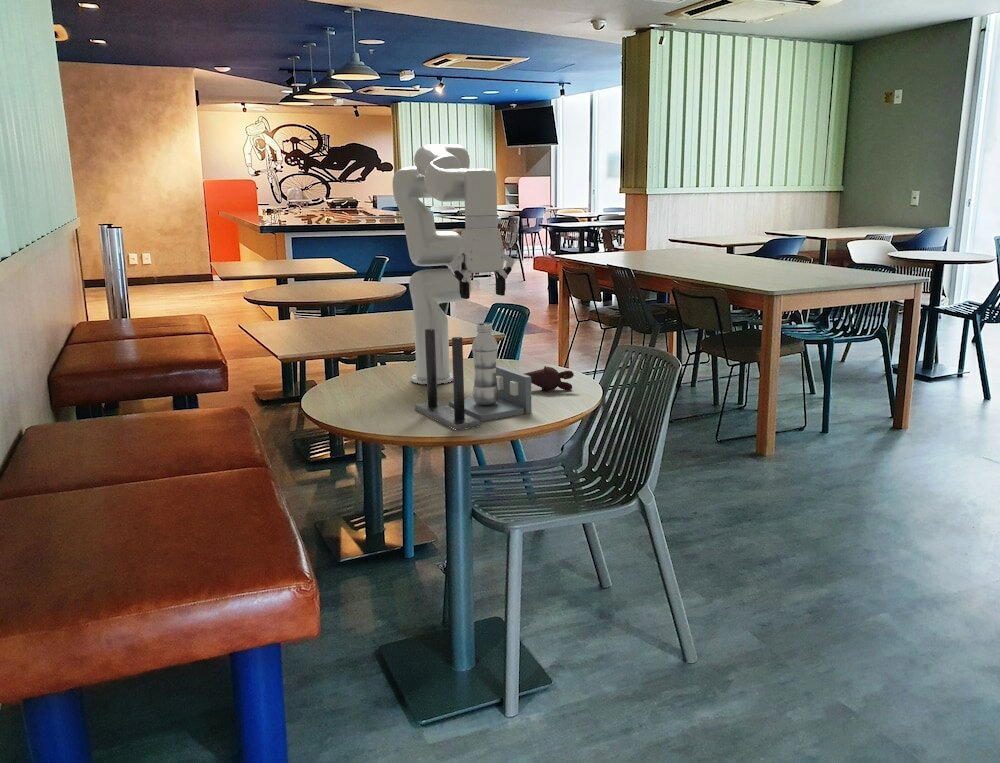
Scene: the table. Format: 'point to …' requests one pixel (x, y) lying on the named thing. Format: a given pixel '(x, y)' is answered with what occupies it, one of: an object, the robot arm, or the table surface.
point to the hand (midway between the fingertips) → (482, 296)
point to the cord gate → (441, 411)
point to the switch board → (503, 397)
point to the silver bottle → (485, 366)
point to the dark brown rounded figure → (550, 378)
